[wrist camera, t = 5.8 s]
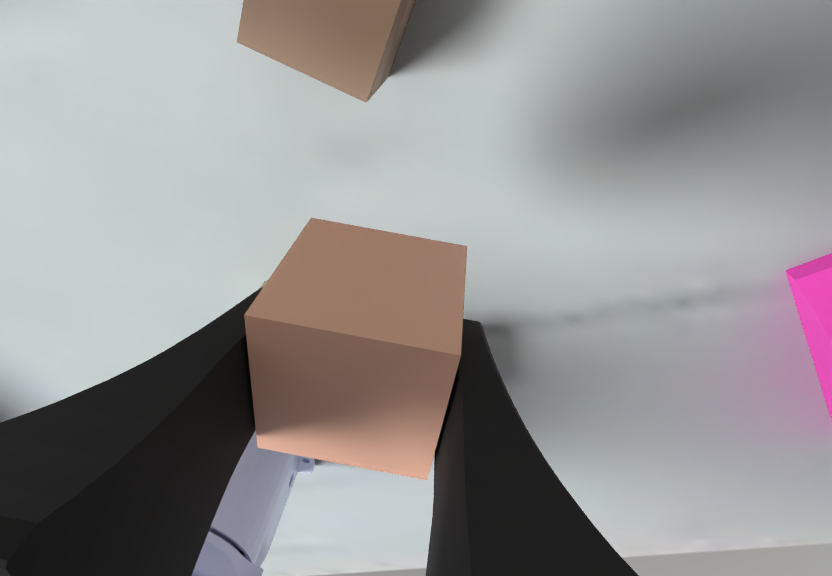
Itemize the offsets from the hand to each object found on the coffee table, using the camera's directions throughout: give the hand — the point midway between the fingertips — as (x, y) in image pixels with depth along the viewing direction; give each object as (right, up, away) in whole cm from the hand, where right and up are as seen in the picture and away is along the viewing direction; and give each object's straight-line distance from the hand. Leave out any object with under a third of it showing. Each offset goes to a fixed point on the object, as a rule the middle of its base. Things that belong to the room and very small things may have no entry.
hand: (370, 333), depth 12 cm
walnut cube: (-1, +11, +4) cm, 12 cm away
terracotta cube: (0, +1, +1) cm, 2 cm away
